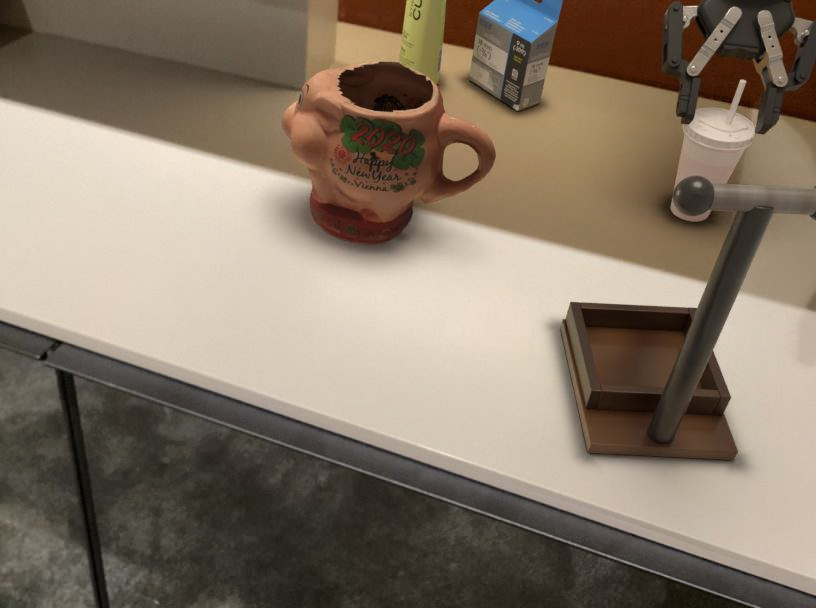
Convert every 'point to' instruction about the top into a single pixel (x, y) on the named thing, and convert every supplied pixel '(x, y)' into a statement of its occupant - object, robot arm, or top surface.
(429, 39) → the tube
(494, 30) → the blue grey carton
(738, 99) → the smoothie
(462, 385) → the top surface
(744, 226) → the jewelry holder
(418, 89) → the pink novelty mug
